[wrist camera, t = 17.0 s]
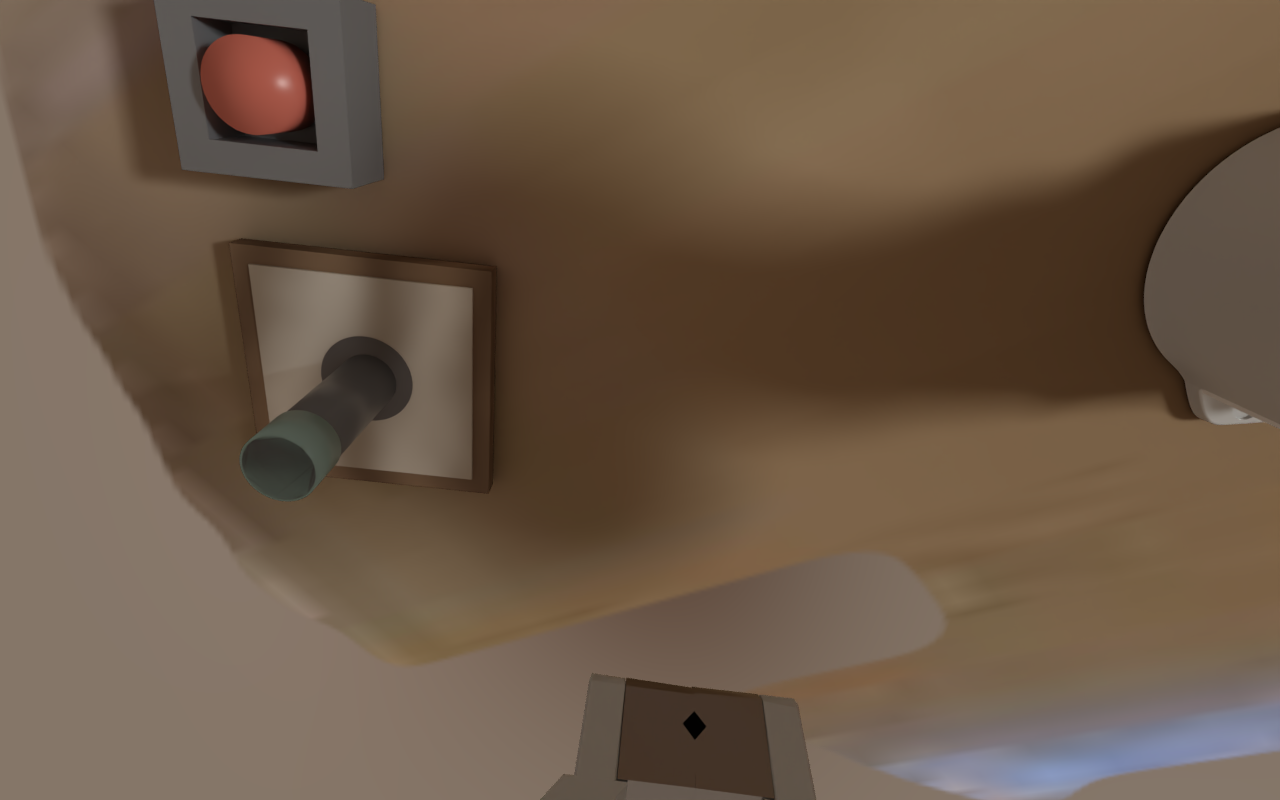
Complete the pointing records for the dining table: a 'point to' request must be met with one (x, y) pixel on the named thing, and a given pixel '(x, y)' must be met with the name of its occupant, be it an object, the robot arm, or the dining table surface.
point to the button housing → (341, 82)
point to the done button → (258, 84)
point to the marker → (317, 430)
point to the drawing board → (377, 353)
